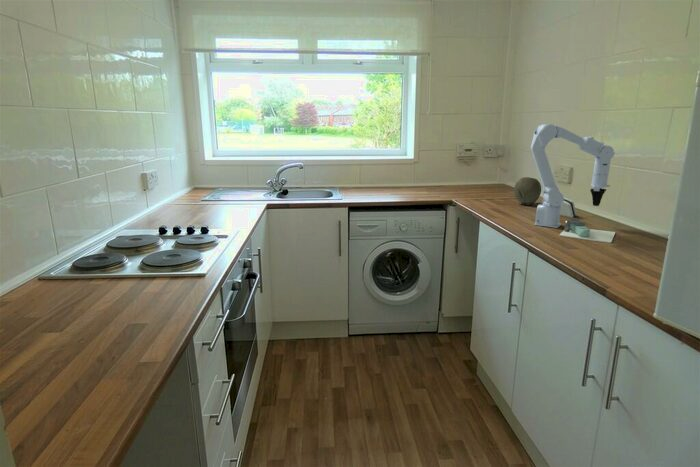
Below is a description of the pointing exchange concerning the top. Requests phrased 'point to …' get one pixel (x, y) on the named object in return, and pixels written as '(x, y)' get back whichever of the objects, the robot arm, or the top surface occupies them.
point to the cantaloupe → (527, 190)
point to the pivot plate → (591, 234)
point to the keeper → (567, 223)
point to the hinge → (567, 208)
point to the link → (580, 230)
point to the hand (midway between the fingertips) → (595, 205)
